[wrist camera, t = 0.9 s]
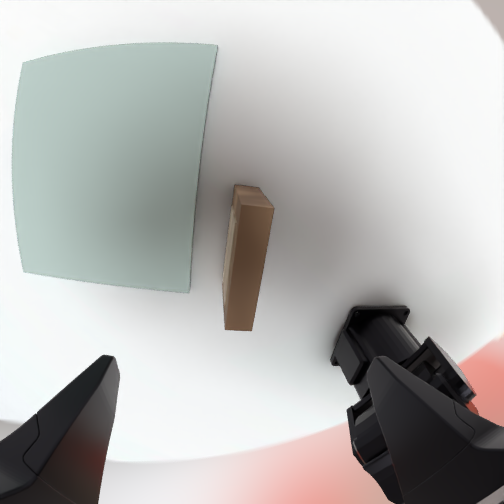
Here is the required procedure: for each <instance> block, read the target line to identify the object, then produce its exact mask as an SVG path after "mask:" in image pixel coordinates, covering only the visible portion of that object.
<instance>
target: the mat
mask: <svg viewBox="0 0 504 504" xmlns="http://www.w3.org/2000/svg"><path fill="white" fill-rule="evenodd" d="M217 49H218V45H212V44H198V43H133V44H119V45H109V46H100V47H93V48H86V49H80V50H74V51H69V52H63V53H59V54H54V55H50V56H46V57H42V58H38V59H34V60H30V61H27V62H23V64H22V69H21V74H20V79H19V85H18V91H17V98H16V105H15V114H14V124H13V139H12V189H13V205H14V215H15V224H16V232H17V239H18V246H19V251H20V257H21V262H22V267H23V272H25V273H31V274H37V275H43V276H49V277H56V278H62V279H69V280H76V281H83V282H91V283H98V284H106V285H114V286H122V287H131V288H140V289H149V290H159V291H169V292H180V293H189V291H190V275H191V257H192V242H193V229H194V217H195V206H196V195H197V185H198V176H199V167H200V158H201V150H202V142H203V134H204V127H205V120H206V113H207V106H208V100H209V94H210V88H211V82H212V76H213V70H214V64H215V59H216V54H217Z"/></svg>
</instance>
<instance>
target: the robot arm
mask: <svg viewBox="0 0 504 504" xmlns="http://www.w3.org/2000/svg"><path fill="white" fill-rule="evenodd" d="M356 312H357V313H356ZM355 313H356V314H355ZM409 313H410V310H409V308H408V307H406V306H400V307H354V308H353V309H352V310H351V311H350V314H349V316H348V319H347V321H346V324H345V326H344V329H343V331H342V333H341V335H340V338H339V340H338V343H337V345H336V347H335V350H334V353H333V355H332V358H331V360H330V361H331V364H332V365H333V366H340V367H341V369H342V371H343V373H344V375H345V377H346V379H347V381H348V383H349V384H350V385H354V387H355V389H356V391H357V393H358V395H359V397H360V399H361V400H360V401H359V402H358V403H356V404H355V405H354V406H351V407H350V408H348V409H347V416H348V423H349V430H350V437H351V444H352V450H353V455H354V456H355V457H356V458H357V460H358V461H359V463H360V464H361V465H362V466H363V468H364V470H365V471H367V472H368V473H369V474H370V475H371V476H372V477H373V478H374V479H375V480H376V481H377V483H378V484H379V486H380V487H381V488H382V490H383V492H384V494H385V495H386V497H387V499H388V500H389V501H391V502H393V503H395V504H504V427H502V426H499V425H496V424H495V423H493V422H490V421H489V420H487V419H484V418H482V417H480V416H479V413H478V410H477V408H476V407H475V406H474V404H473V403H472V402H471V400H472V399H473V398H474V397H475V396H476V393H475V391H474V390H473V388H472V386H471V385H470V383H469V382H468V380H467V379H466V377H465V375H464V374H463V372H462V371H461V369H460V368H459V367H458V366H457V365H456V363H455V362H454V361H453V360H452V359H451V357H450V356H449V355H448V354H447V353H446V352H445V351H444V350H443V349H442V348H441V347H440V346H439V345H438V344H437V343H436V342H435V341H433V340H432V339H431V338H430V337H429V336H428V338H427V339H426V340H425V341H424V343H423V344H422V345H421V344H420V343H419V342H418V341H417V339H416V338H415V337H414V336H413V334H412V333H411V332H410V331H409V330H408V328H407V327H406V326H405V325H404V324H405V322H406V320H407V317H408V315H409ZM119 381H120V373H119V369H118V366H117V362H116V359H115V357H114V356H110V355H102V356H101V357H99V358H98V359H97V360H96V361H95V362H94V363H92V364H91V365H90V366H89V367H88V368H87V369H85V370H84V371H83V372H82V373H81V374H80V375H79V376H77V377H76V378H75V379H74V380H73V381H72V382H71V383H69V384H68V385H67V386H66V387H65V388H64V389H63V390H61V391H60V392H59V393H58V394H57V395H56V396H55V397H53V398H52V399H51V400H50V401H49V402H48V403H47V404H46V405H44V406H43V407H42V408H41V409H40V410H39V411H38V412H37V414H34V415H33V416H32V417H31V418H30V419H29V420H28V421H26V422H25V423H24V424H23V425H22V426H20V427H19V428H18V429H17V430H15V431H14V432H13V433H11V434H10V435H9V436H7V437H6V438H4V439H3V440H2V441H0V504H98V500H99V494H100V488H101V482H102V476H103V470H104V465H105V460H106V455H107V450H108V445H109V440H110V436H111V431H112V427H113V423H114V418H115V411H116V403H117V395H118V388H119Z"/></svg>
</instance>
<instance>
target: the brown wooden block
mask: <svg viewBox="0 0 504 504" xmlns="http://www.w3.org/2000/svg"><path fill="white" fill-rule="evenodd" d="M273 213H274V207H273V206H272V204H271V203H270V202H269V200H268V199H267V198H266V196H265V195H264V194H263V192H262V191H261V190H260V188H258V187H250V186H242V185H235V186H234V194H233V201H232V205H231V212H230V220H229V228H228V236H227V244H226V253H225V261H224V270H223V283H222V289H223V307H224V323H225V330H236V331H252V327H253V322H254V317H255V312H256V306H257V301H258V296H259V290H260V285H261V279H262V274H263V269H264V263H265V258H266V252H267V246H268V241H269V235H270V230H271V224H272V218H273Z"/></svg>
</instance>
